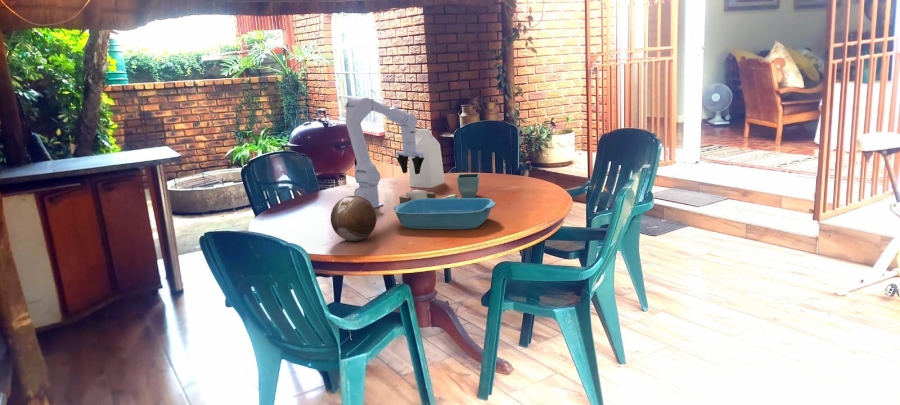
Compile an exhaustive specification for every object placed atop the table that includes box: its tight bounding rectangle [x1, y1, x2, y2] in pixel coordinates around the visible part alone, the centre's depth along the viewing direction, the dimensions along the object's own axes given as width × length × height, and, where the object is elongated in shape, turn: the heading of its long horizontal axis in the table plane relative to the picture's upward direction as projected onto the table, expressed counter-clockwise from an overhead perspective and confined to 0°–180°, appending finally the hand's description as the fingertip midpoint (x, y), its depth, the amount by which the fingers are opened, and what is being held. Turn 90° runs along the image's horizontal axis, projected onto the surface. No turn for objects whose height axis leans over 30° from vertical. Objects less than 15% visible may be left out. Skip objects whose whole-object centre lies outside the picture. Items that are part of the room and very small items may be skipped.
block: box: [405, 189, 428, 200], centre depth 262 cm, size 6×6×4 cm
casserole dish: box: [393, 197, 497, 230], centre depth 225 cm, size 37×22×7 cm, turn 73°
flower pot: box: [456, 173, 480, 198], centre depth 264 cm, size 9×9×9 cm
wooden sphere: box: [330, 195, 378, 242], centre depth 209 cm, size 15×15×15 cm
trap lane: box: [398, 191, 461, 204], centre depth 258 cm, size 24×21×4 cm
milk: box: [408, 128, 446, 188], centre depth 295 cm, size 12×12×26 cm
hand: (411, 173), depth 273 cm, fingers open, 7 cm apart
